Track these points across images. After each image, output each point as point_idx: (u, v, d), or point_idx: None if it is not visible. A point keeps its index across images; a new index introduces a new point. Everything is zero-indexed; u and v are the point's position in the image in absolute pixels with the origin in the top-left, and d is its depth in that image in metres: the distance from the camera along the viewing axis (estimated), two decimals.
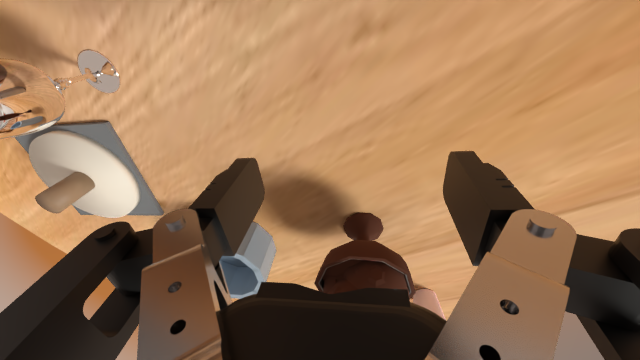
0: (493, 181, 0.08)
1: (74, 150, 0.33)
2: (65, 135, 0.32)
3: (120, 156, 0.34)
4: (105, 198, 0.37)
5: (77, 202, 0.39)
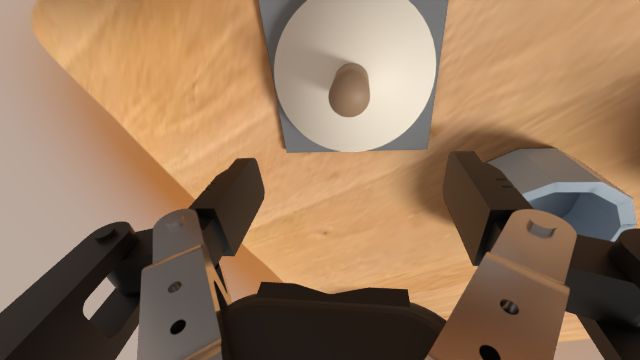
0: (493, 181, 0.08)
1: (376, 16, 0.20)
2: None
3: (434, 34, 0.21)
4: (366, 114, 0.24)
5: (311, 125, 0.26)
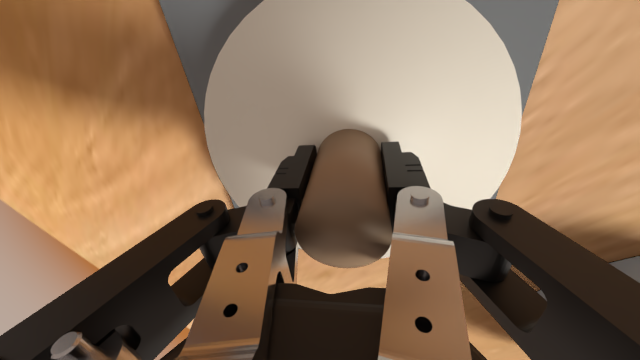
0: (401, 165, 0.09)
1: (399, 42, 0.09)
2: None
3: None
4: None
5: None
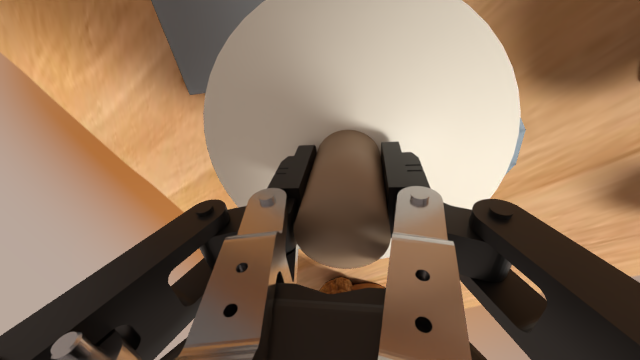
0: (401, 165, 0.09)
1: (398, 44, 0.09)
2: None
3: None
4: None
5: None
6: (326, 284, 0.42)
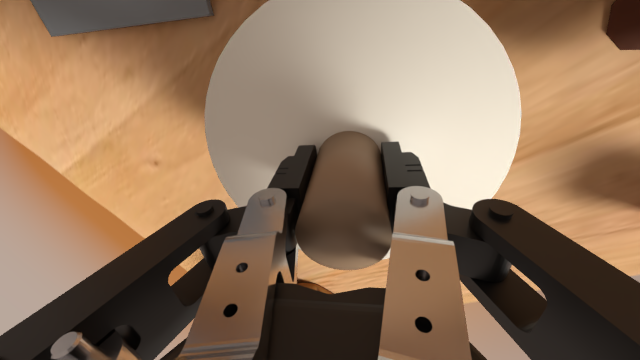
0: (401, 165, 0.09)
1: (399, 45, 0.09)
2: None
3: None
4: None
5: None
6: None
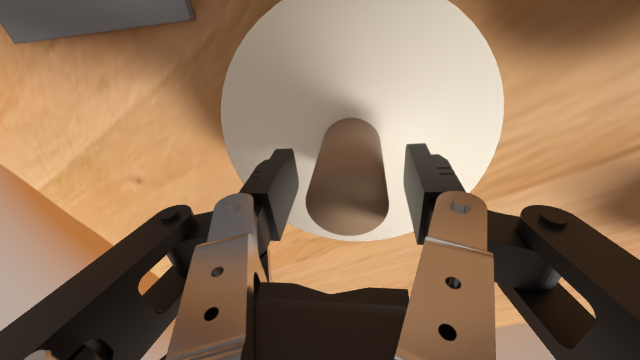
0: (434, 168, 0.09)
1: (395, 40, 0.11)
2: None
3: None
4: None
5: None
6: None
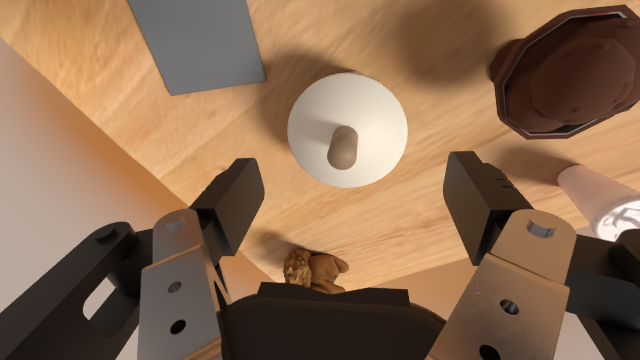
0: (493, 181, 0.08)
1: (358, 95, 0.28)
2: (357, 75, 0.27)
3: None
4: (359, 160, 0.32)
5: (317, 169, 0.33)
6: (289, 255, 0.51)
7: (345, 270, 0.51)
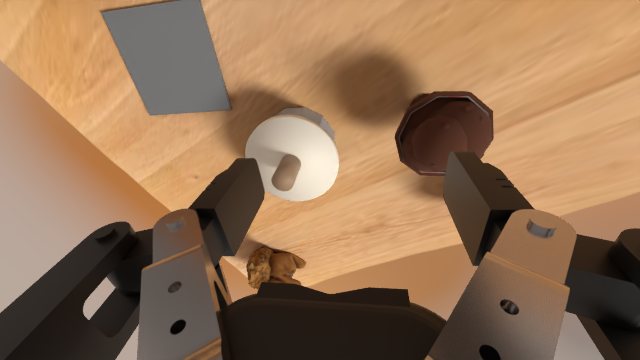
0: (493, 181, 0.08)
1: (299, 133, 0.35)
2: (297, 118, 0.34)
3: (204, 37, 0.36)
4: (303, 180, 0.40)
5: (270, 185, 0.41)
6: (254, 252, 0.59)
7: (302, 266, 0.60)
